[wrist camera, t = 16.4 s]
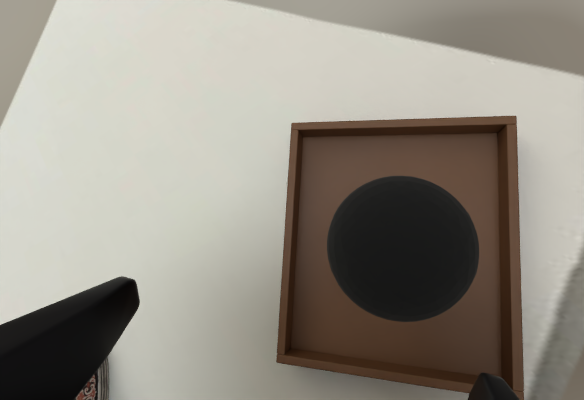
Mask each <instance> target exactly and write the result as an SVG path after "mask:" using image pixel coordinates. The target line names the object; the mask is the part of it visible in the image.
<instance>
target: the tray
mask: <svg viewBox="0 0 584 400" xmlns="http://www.w3.org/2000/svg"><path fill="white" fill-rule="evenodd" d="M516 124H517V120H516V116H494V117H463V118H432V119H401V120H369V121H338V122H307V123H292V124H291V140H290V156H289V172H288V187H287V203H286V219H285V235H284V250H283V266H282V282H281V298H280V313H279V329H278V345H277V361H276V362H277V363H282V364H288V365H295V366H301V367H307V368H313V369H320V370H326V371H332V372H338V373H345V374H351V375H357V376H364V377H370V378H376V379H382V380H389V381H395V382H401V383H408V384H414V385H420V386H426V387H433V388H439V389H445V390H452V391H458V392H464V393H470V391H471V389H472V387H473V385H474V383H475V381H476V379H477V377H478V376H479V374H480V373H488V374H492V375H496V376H499V377H501V378H502V379H504V380H505V382H506V383H507V384H508V385H509V386H510V388H511V389H512V390H513V391H514V393H515V394H516V395H517V396H518V398H519V399H520V400H524V392H523V391H524V381H523V343H522V306H521V269H520V231H519V194H518V156H517V125H516ZM388 176H412V177H417V178H421V179H424V180H427V181H430V182H432V183H434V184H436V185H438V186H440V187H442V188H443V189H445V190H446V191H448V192H449V193H450V194H451V195H453V196H454V197H455V198H456V199H457V200H458V201H459V202H460V203H461V205H462V206H463V207H464V208H465V209H466V211H467V212H468V213H469V215H470V217H471V219H472V221H473V224H474V226H475V229H476V232H477V236H478V241H479V264H478V269H477V273H476V276H475V278H474V280H473V282H472V284H471V286H470V287H469V289H468V291H467V292H466V293H465V295H464V296H463V297H462V298H461V299H460V300H459V301H458V302H457V303H456V304H455V305H454V306H453V307H451V308H450V309H448V310H447V311H445V312H444V313H442V314H440V315H438V316H435V317H432V318H429V319H426V320H421V321H416V322H398V321H392V320H387V319H383V318H380V317H377V316H375V315H373V314H371V313H369V312H367V311H365V310H364V309H362V308H360V307H359V306H358V305H356V304H355V303H354V302H353V301H352V300H351V299H350V298H349V297H348V296H347V295H346V294H345V293H344V292H343V290H342V289H341V288H340V286H339V285H338V283H337V281H336V279H335V277H334V275H333V273H332V271H331V268H330V264H329V260H328V254H327V237H328V231H329V227H330V224H331V221H332V219H333V216H334V214H335V212H336V211H337V209H338V207H339V206H340V204H341V203H342V202H343V201H344V199H345V198H346V197H347V196H348V195H349V194H351V193H352V192H353V191H354V190H356V189H357V188H359V187H360V186H362V185H364V184H365V183H368V182H370V181H373V180H375V179H379V178H382V177H388Z"/></svg>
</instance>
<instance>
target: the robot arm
mask: <svg viewBox="0 0 584 400" xmlns="http://www.w3.org/2000/svg"><path fill="white" fill-rule="evenodd" d="M139 302H140V301H139V295H138V289H137V284H136V281H135V280H133V279H130V278H127V277H118V278H115V279H113V280H110V281H108V282H105V283H103V284H100V285H98V286H95V287H93V288H91V289H88V290H86V291H83V292H81V293H78V294H76V295H73V296H71V297H68V298H66V299H63V300H61V301H59V302H56V303H54V304H51V305H49V306H46V307H44V308H41V309H39V310H36V311H34V312H31V313H29V314H26V315H24V316H22V317H19V318H17V319H14V320H12V321H9V322H7V323H4V324H2V325H0V400H75V399H76V397H77V396H78V395H79V393H80V392H81V391H82V389H83V388H84V387H85V386H86V384H87V383H88V382H89V380H90V379H91V378H92V377H93V375H94V374H95V373H96V371H97V370H98V369H99V367H100V366H101V365H102V363H103V362H104V361H105V359H106V358H107V356H108V355H109V353H110V352H111V350H112V349H113V347H114V346H115V344H116V342H117V341H118V339H119V338H120V336H121V335H122V333H123V331H124V330H125V328H126V327H127V325H128V324H129V322H130V320H131V319H132V317H133V316H134V314H135V313H136V311H137V309H138V307H139ZM468 400H520V399H519V398H518V396H517V395H516V394H515V393H514V391H513V390H512V389H511V388H510V386H509V385H508V384H507V383H506V382H505V380H504V379H502V378H501V377H499V376H496V375H492V374H488V373H480V374H479V376H478V377H477V379H476V381H475V383H474V385H473V387H472V389H471V391H470V393H469V397H468Z"/></svg>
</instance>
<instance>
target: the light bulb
mask: <svg viewBox="0 0 584 400" xmlns="http://www.w3.org/2000/svg"><path fill="white" fill-rule="evenodd" d="M327 254H328V260H329V264H330V268H331V271H332V273H333V275H334V277H335V279H336V281H337V283H338V285H339V286H340V288H341V289H342V290H343V292H344V293H345V294H346V295H347V296H348V297H349V298H350V299H351V300H352V301H353V302H354V303H355V304H356V305H358V306H359V307H360V308H362V309H364V310H365V311H367V312H369V313H371V314H373V315H375V316H377V317H380V318H383V319H387V320H392V321H398V322H416V321H421V320H426V319H429V318H432V317H435V316H438V315H440V314H442V313H444V312H445V311H447V310H448V309H450V308H451V307H453V306H454V305H455V304H456V303H457V302H458V301H459V300H460V299H461V298H462V297H463V296H464V295H465V293H466V292H467V291H468V289H469V287H470V286H471V284H472V282H473V280H474V278H475V276H476V273H477V269H478V264H479V241H478V236H477V232H476V229H475V226H474V224H473V221H472V219H471V217H470V215H469V213H468V212H467V211H466V209H465V208H464V207H463V206H462V205H461V203H460V202H459V201H458V200H457V199H456V198H455V197H454V196H453V195H451V194H450V193H449V192H448V191H446V190H445V189H443V188H442V187H440V186H438V185H436V184H434V183H432V182H430V181H427V180H424V179H421V178H417V177H412V176H388V177H382V178H379V179H375V180H373V181H370V182H368V183H365V184H364V185H362V186H360V187H359V188H357V189H356V190H354V191H353V192H352V193H351V194H349V195H348V196H347V197H346V198H345V199H344V201H343V202H342V203H341V204H340V206H339V207H338V209H337V211H336V212H335V214H334V216H333V219H332V221H331V224H330V227H329V231H328V237H327Z"/></svg>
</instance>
